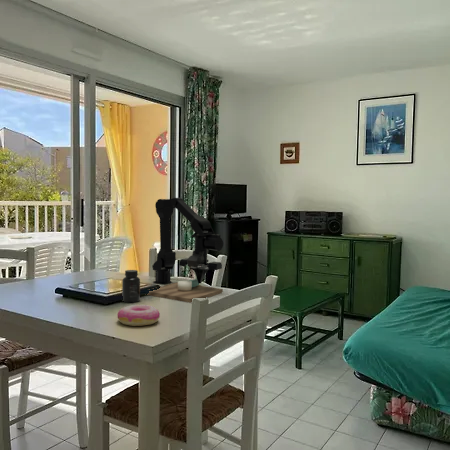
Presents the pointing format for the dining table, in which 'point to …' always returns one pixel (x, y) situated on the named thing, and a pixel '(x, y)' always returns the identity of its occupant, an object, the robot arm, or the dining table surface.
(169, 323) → the dining table surface
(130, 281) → the supplement bottle
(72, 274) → the dining table surface
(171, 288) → the walnut base
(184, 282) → the green and white block
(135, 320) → the donut
